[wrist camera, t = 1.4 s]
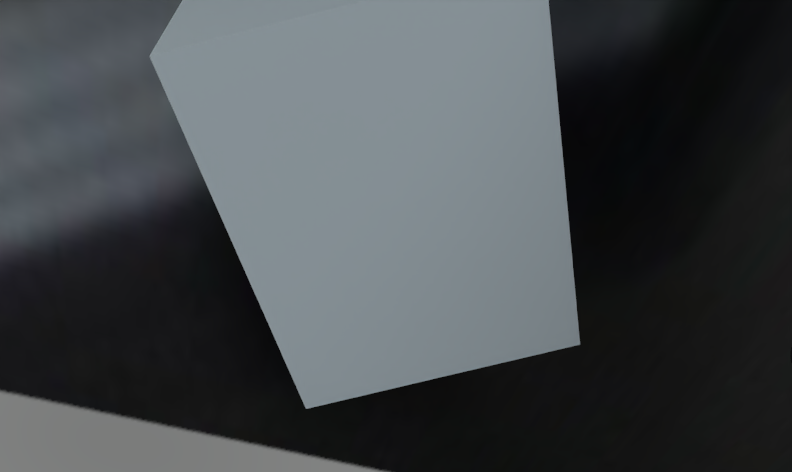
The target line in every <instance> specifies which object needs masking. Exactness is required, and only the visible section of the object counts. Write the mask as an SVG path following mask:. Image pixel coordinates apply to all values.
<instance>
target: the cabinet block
mask: <svg viewBox="0 0 792 472" xmlns="http://www.w3.org/2000/svg"><path fill="white" fill-rule="evenodd" d="M150 58H151V61H152V63H153V65H154V67H155V70H156V72H157V74H158V76H159V79H160V81H161V83H162V85H163V88H164V90H165V92H166V95H167V97H168V99H169V101H170V104H171V106H172V108H173V110H174V113H175V115H176V117H177V119H178V122H179V124H180V126H181V128H182V131H183V133H184V135H185V137H186V140H187V142H188V144H189V146H190V149H191V151H192V153H193V155H194V158H195V160H196V162H197V164H198V167H199V169H200V171H201V173H202V176H203V178H204V180H205V182H206V185H207V187H208V189H209V191H210V194H211V196H212V198H213V200H214V203H215V205H216V207H217V209H218V212H219V214H220V216H221V218H222V221H223V223H224V225H225V227H226V230H227V232H228V234H229V236H230V239H231V241H232V243H233V245H234V248H235V250H236V252H237V254H238V257H239V259H240V261H241V264H242V266H243V268H244V270H245V273H246V275H247V277H248V279H249V282H250V284H251V286H252V288H253V291H254V293H255V295H256V297H257V300H258V302H259V304H260V306H261V309H262V311H263V313H264V315H265V318H266V320H267V322H268V324H269V327H270V329H271V331H272V333H273V336H274V338H275V340H276V342H277V345H278V347H279V349H280V351H281V354H282V356H283V358H284V360H285V363H286V365H287V367H288V369H289V372H290V374H291V376H292V378H293V381H294V383H295V385H296V387H297V390H298V392H299V394H300V396H301V399H302V401H303V403H304V405H305V408H306V409H308V408H312V407H316V406H321V405H325V404H329V403H333V402H338V401H342V400H346V399H350V398H355V397H359V396H363V395H367V394H372V393H376V392H380V391H384V390H389V389H393V388H397V387H401V386H406V385H410V384H414V383H418V382H423V381H427V380H431V379H435V378H440V377H444V376H448V375H452V374H457V373H461V372H465V371H469V370H474V369H478V368H482V367H486V366H491V365H495V364H499V363H503V362H508V361H512V360H516V359H520V358H525V357H529V356H533V355H537V354H542V353H546V352H550V351H554V350H559V349H563V348H567V347H571V346H576V345H580V339H579V328H578V317H577V306H576V295H575V284H574V273H573V262H572V251H571V240H570V229H569V218H568V207H567V196H566V186H565V175H564V164H563V153H562V142H561V131H560V120H559V109H558V98H557V87H556V76H555V65H554V54H553V43H552V32H551V21H550V11H549V0H182V2H181V4H180V5H179V7H178V9H177V10H176V12H175V14H174V15H173V17H172V19H171V21H170V22H169V24H168V26H167V27H166V29H165V31H164V32H163V34H162V36H161V37H160V39H159V41H158V42H157V44H156V46H155V47H154V49H153V51H152V53H151V54H150Z"/></svg>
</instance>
